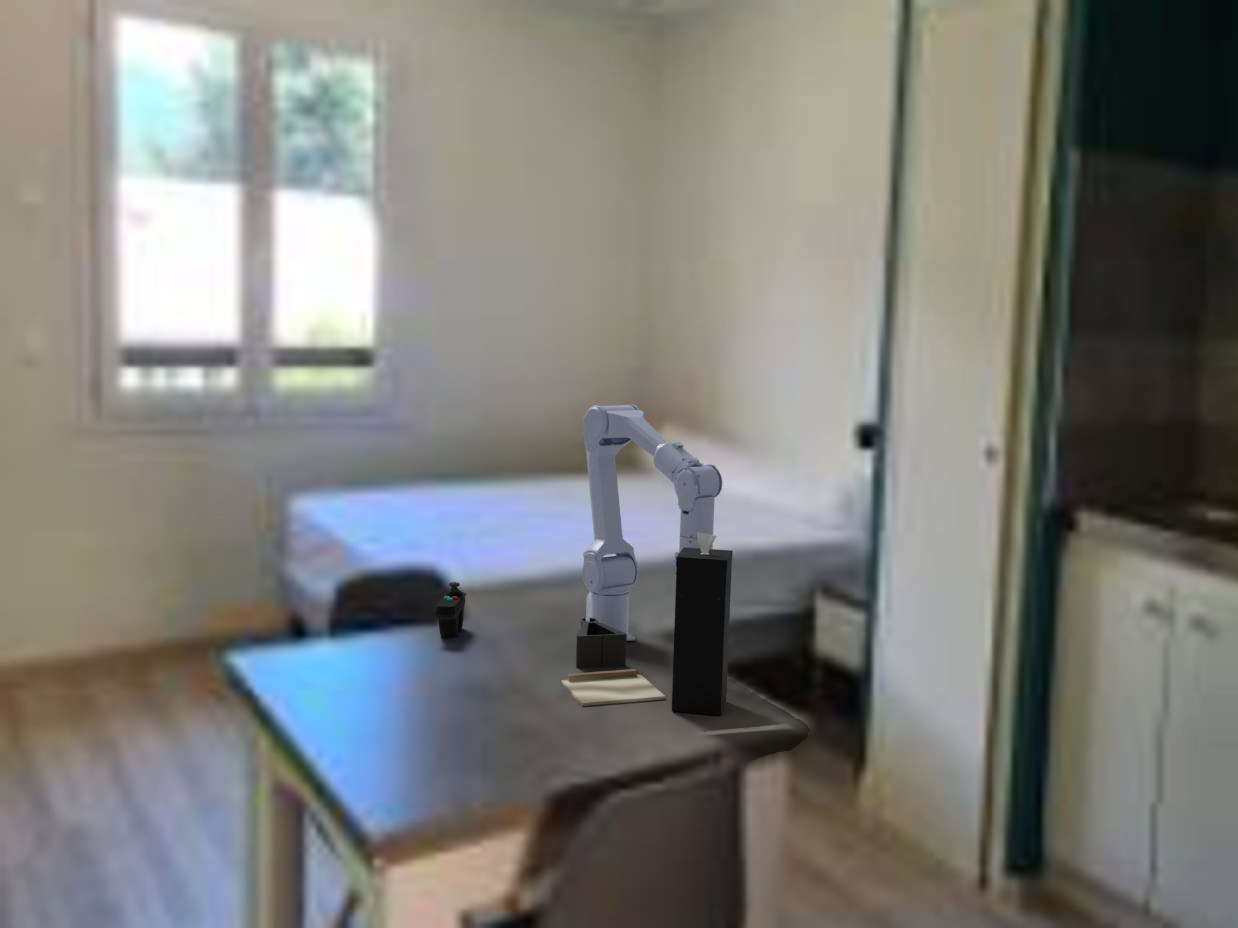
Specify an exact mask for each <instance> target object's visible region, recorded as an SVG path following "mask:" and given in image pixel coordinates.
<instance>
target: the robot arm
mask: <svg viewBox="0 0 1238 928" xmlns="http://www.w3.org/2000/svg"><path fill="white" fill-rule="evenodd" d="M582 432H583V440H584V442H583V443H584V449H585V454H586V455H585V457H586V464H587V465H586V466H587V474H588V475H587V476H588V485H589V486H588V487H589V496H590V506H591V507H590V508H591V518H592V528H593V536H594V537H593V538H594V541H593V542H592V544H590V546H589V547H587V548H586V550H585V551H584V552H583V565H582V568H581V569H582V570H581V571H582V572H581V578H582V581H583V583H584V586H585V587H586V588H587V591H588V594H587V596H586V603H585V604H586V605H585V607H586V608H585V610H586V611H585V613H586V614H585V618H586V621H587V622H590V618H595V619H597V621H598V622H600V623H602V624H605V625H607V626H610V627H612V628H614V629H617V630H619V631H621V632H624V633H626V634H627V642H628V641H629V642H630V641H635V640H636V637H635V636H633V635H632V634H631V632H629V606H630V604H629V603H630V592H632V591H633V586H635V585H636V583H637V582H638V579H639V576H640V567H639V564H638V561H637V559H636V556H635V549H634V547H633V546H632V545H631V543H628V542H627V540H625V539H624V538H623V529H622V528H623V526H622V518H621V517H622V515H621V506H620V496H619V487H618V485H619V484H618V474H617V465H616V455H617V454H618V453H619V452H620V450H621V449H623V448H625V447H626V446H627V445H628V444H629V443H631V441H632V442H634V443H635V444H636V445H638V446H639V447H640V448H641V449H642V450H644V451H645V452H647V453H648V454H649V455H650V456H652V457H653V464H654V466H655V468H656V469H657V470H658V471H660V472H661V473H662V474H663V475H664V476H665V477H666V478H667V479H668V480H669V481H670V482H671V483H672V484H673V486H674V490H675V493H676V496H677V499H678V500H677V506H678V509H680V517H679V518H680V523H679V524H680V525H679V526H680V527H679V548H678V549H679V552H678V551H676V552H674V559H673V560H672V562H671V563H672V565H673V566H675V567H676V557H677V555H678V554H679V553H680V552H681V550H682V549H683V548H684V547H687V548H700V546H699V542H698V538H697V532H700V533H704V534H711V535H714V520H715V498H717V497H718V496H719V495H720V494H721V491H722V488H723V477H722V474H721V472H720V470H718V468H717V466H715V465H714V464H704V463H701V462H700V460H699V459H698V458H697V457H694V456H693V455H692V454H691V453H690V452H689V451H687V450H686V449H685V448H684V444H683V443H682V442H681V441H673V440H672V441H666V439H664V437H663V436H662V435H660V433H659V432H658V431H657V430H656V429H655V428H654V427H653V426H652V425H651V424H650V423H649V422H648V421H647V420H646V415H645V411H643V410H641V409H640V408H639V407H638V406H637V405H636V404H632V403H631V404H625V405H623V404H622V405H620V404H619V405H595V404H594V405H592V406H590V407H589V408H588V410H587V411H586V413H585V414H584V416H583V417H582ZM713 544H714V543H713ZM713 544H712V546H711V548H710V549H714V546H713ZM608 555H611V556H608Z"/></svg>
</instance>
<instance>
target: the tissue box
mask: <svg viewBox="0 0 1238 928" xmlns="http://www.w3.org/2000/svg"><path fill="white" fill-rule="evenodd" d="M697 538H698V542H699V546H700V548H687V547H684V548H683V549H682V550H681V552H680V553H679V554H678V555H677V557H676V566H675V567H676V572H675V574H676V577H675V578H676V579H675V600H674V603H675V604H674V607H675V608H674V627H673V628H674V632H673V662H672V664H673V665H672V687H671V688H672V691H671V711H672V712H678V713H679V712H680V713H691V714H700V715H710V716H711V715H712V716H722V713H723V711H724V708H725V705H726V701H727V692H728V688H727V687H728V669H729V668H728V665H729V641H730V621H731V620H730V615H731V614H730V613H731V593H732V590H731V589H732V588H731V587H732V567H733V564H732V563H733V553H734V550H732V549H730V550H729V549H728V550H727V549H715V548H713V549H710V548H711V546H712V544H714V542H715V541H716V538H717V535H714V534H713V535H711V534H704V533H700V532H697Z"/></svg>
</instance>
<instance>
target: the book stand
mask: <svg viewBox="0 0 1238 928" xmlns="http://www.w3.org/2000/svg"><path fill="white" fill-rule="evenodd" d="M561 684H562V685H563V686H564V687H565V688H566V689H567V691H568V692H569V693H570V694H571V695H572V696H573V697H574V699H575V700H576V701H577V702H578V703H579V704H580V705H581V707H586V706H587V707H588V706H598V705H599V706H601V705H610V704H611V705H612V704H624V703H636V702H637V703H638V702H646V701H647V702H648V701H650V702H651V701H660V700H661V701H662V700H666V696H665V694H664V693H662V692H661V691H660V690H659V689H658V688H656V687H655V686H654V684H652V683H651V682H650V681H649V680H647V678H645V676H643V675H642V674H640V673H639V674H638V670H637V669H636V668H633V669H632V668H630V669H629V668H628V669H617V670H604V671H603V670H602V671H592V672H589V671H588V672H578V673H577V672H574V673H567V677H566V679H561Z"/></svg>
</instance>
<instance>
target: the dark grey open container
mask: <svg viewBox="0 0 1238 928" xmlns="http://www.w3.org/2000/svg"><path fill="white" fill-rule="evenodd" d="M575 643H576V649H575V652H576V653H575V654H576V655H575V668H576V669H585V668H586V669H588V668H592V669H593V668H616V667H621V666H622V667H626V666H627V646H628V645H627V643H628V641H627V634H626V633H624V632H621V631H619V630H617V629H614V628H612V627H610V626H607V625H605V624H602V623H600V622H598V621H597V619H595V618H590V622H587V621H586V617H584V618H583V617H582V618H581V619H580V628H579V630H578V632H577V635H576V642H575Z"/></svg>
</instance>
